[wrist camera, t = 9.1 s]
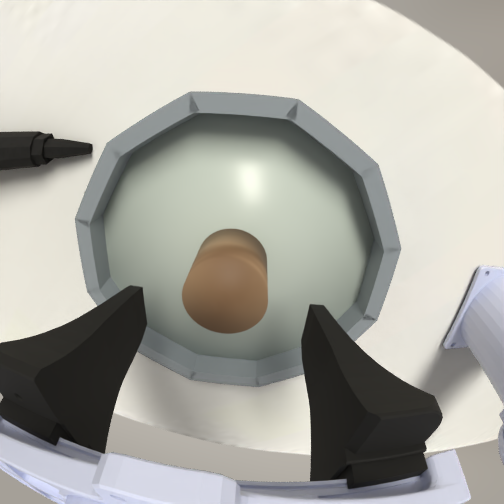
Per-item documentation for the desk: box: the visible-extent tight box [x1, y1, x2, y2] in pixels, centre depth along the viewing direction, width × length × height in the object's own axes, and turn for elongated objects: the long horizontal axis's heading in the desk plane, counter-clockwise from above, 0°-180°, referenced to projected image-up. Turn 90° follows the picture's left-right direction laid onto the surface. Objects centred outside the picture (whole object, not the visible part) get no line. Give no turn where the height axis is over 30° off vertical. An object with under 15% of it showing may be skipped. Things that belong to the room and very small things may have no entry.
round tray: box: [75, 92, 401, 387], centre depth 17 cm, size 18×18×2 cm
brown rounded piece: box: [182, 229, 268, 334], centre depth 15 cm, size 4×4×4 cm
